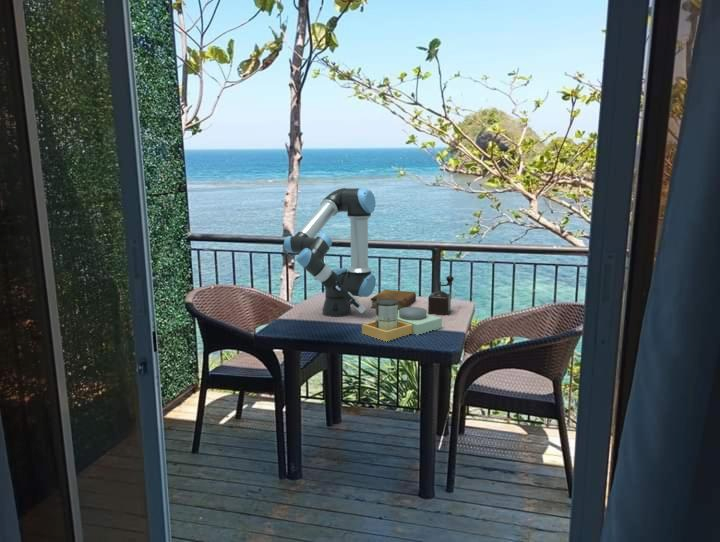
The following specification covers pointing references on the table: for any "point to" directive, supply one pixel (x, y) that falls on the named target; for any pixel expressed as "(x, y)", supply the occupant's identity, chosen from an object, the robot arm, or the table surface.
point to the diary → (396, 297)
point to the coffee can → (387, 314)
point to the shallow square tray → (386, 335)
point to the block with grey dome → (419, 319)
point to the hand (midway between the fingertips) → (360, 307)
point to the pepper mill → (440, 300)
